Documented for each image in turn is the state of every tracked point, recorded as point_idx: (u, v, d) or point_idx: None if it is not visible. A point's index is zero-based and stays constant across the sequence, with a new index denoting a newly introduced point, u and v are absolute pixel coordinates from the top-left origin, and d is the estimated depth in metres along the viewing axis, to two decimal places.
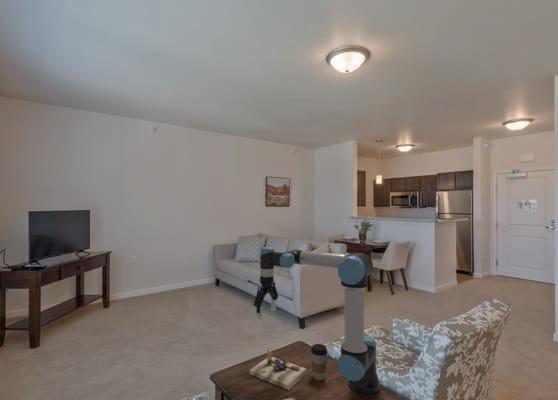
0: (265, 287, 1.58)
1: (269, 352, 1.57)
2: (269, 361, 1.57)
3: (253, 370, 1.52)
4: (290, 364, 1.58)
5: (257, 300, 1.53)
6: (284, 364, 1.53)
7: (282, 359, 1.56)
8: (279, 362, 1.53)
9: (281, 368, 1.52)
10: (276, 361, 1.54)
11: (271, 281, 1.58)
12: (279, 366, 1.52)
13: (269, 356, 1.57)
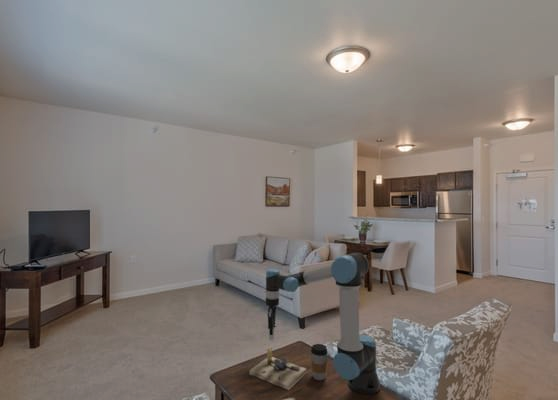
0: (273, 309, 1.62)
1: (269, 352, 1.57)
2: (269, 361, 1.57)
3: (253, 370, 1.52)
4: (290, 364, 1.58)
5: (270, 324, 1.61)
6: (284, 364, 1.53)
7: (282, 359, 1.56)
8: (279, 362, 1.53)
9: (281, 368, 1.52)
10: (276, 361, 1.54)
11: (278, 302, 1.64)
12: (279, 366, 1.52)
13: (269, 356, 1.57)
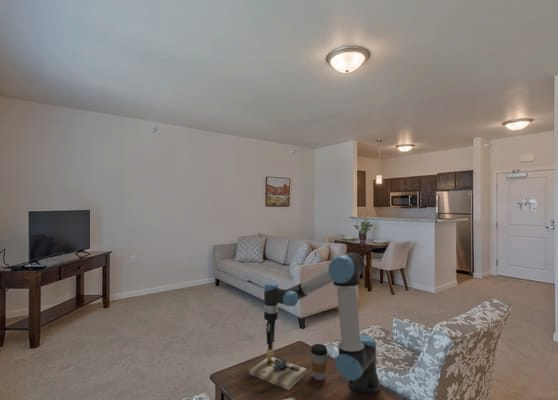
0: (271, 323, 1.59)
1: (269, 352, 1.57)
2: (269, 361, 1.57)
3: (253, 370, 1.52)
4: (290, 364, 1.58)
5: (269, 339, 1.57)
6: (284, 364, 1.53)
7: (282, 359, 1.56)
8: (279, 362, 1.53)
9: (281, 368, 1.52)
10: (276, 361, 1.54)
11: (277, 317, 1.60)
12: (279, 366, 1.52)
13: (269, 356, 1.57)
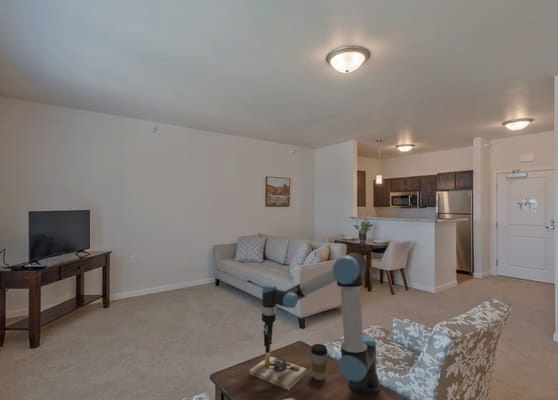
0: (269, 326, 1.55)
1: (268, 355, 1.54)
2: (268, 365, 1.54)
3: (253, 370, 1.52)
4: None
5: (267, 342, 1.54)
6: (285, 363, 1.54)
7: (280, 359, 1.56)
8: (281, 362, 1.53)
9: (284, 367, 1.52)
10: (277, 362, 1.53)
11: (274, 319, 1.56)
12: (282, 366, 1.52)
13: (268, 359, 1.54)
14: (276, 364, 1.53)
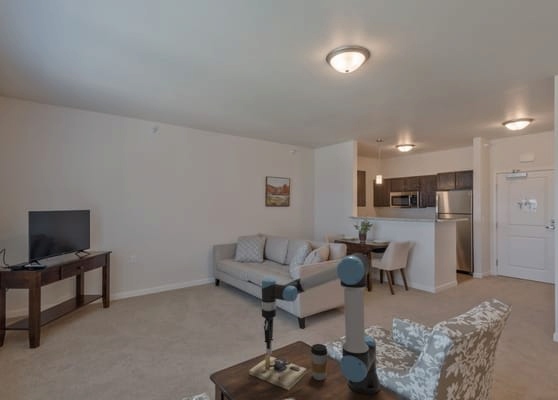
0: (269, 321, 1.53)
1: (269, 357, 1.52)
2: (269, 366, 1.52)
3: (253, 370, 1.52)
4: (290, 364, 1.58)
5: (267, 338, 1.51)
6: None
7: (279, 359, 1.56)
8: (282, 362, 1.53)
9: (285, 367, 1.53)
10: (278, 362, 1.53)
11: (275, 314, 1.55)
12: (284, 365, 1.52)
13: (269, 361, 1.52)
14: (277, 365, 1.52)
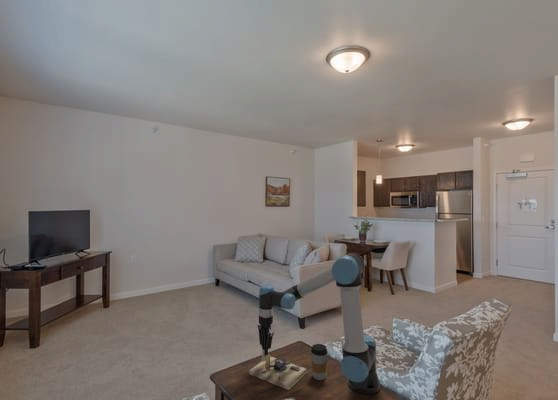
0: None
1: (269, 357, 1.52)
2: (269, 367, 1.52)
3: (253, 370, 1.52)
4: (290, 364, 1.58)
5: (270, 344, 1.52)
6: (285, 362, 1.55)
7: (279, 359, 1.56)
8: (282, 362, 1.53)
9: None
10: (278, 362, 1.53)
11: None
12: (284, 365, 1.52)
13: (269, 362, 1.52)
14: (278, 365, 1.52)
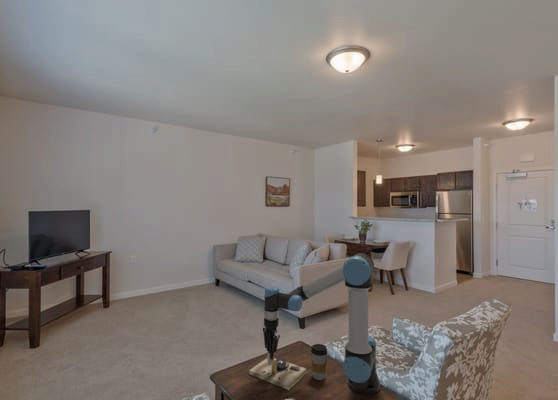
0: None
1: None
2: (276, 370, 1.48)
3: (253, 370, 1.52)
4: (290, 364, 1.58)
5: (275, 347, 1.48)
6: None
7: (277, 359, 1.56)
8: (283, 361, 1.54)
9: None
10: (282, 362, 1.53)
11: None
12: None
13: None
14: (282, 365, 1.52)
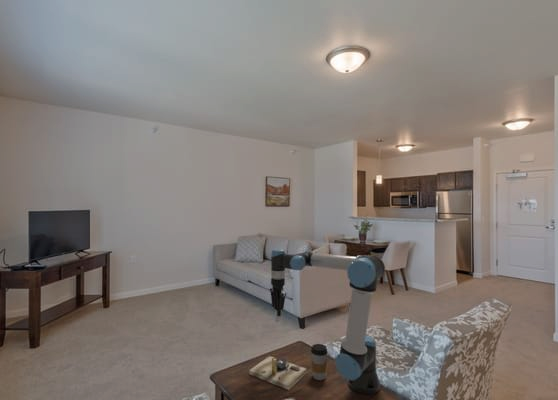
0: None
1: None
2: None
3: (253, 370, 1.52)
4: (290, 364, 1.58)
5: (282, 305, 1.57)
6: None
7: (277, 359, 1.56)
8: (283, 361, 1.54)
9: None
10: (282, 362, 1.53)
11: None
12: None
13: None
14: (282, 365, 1.52)
